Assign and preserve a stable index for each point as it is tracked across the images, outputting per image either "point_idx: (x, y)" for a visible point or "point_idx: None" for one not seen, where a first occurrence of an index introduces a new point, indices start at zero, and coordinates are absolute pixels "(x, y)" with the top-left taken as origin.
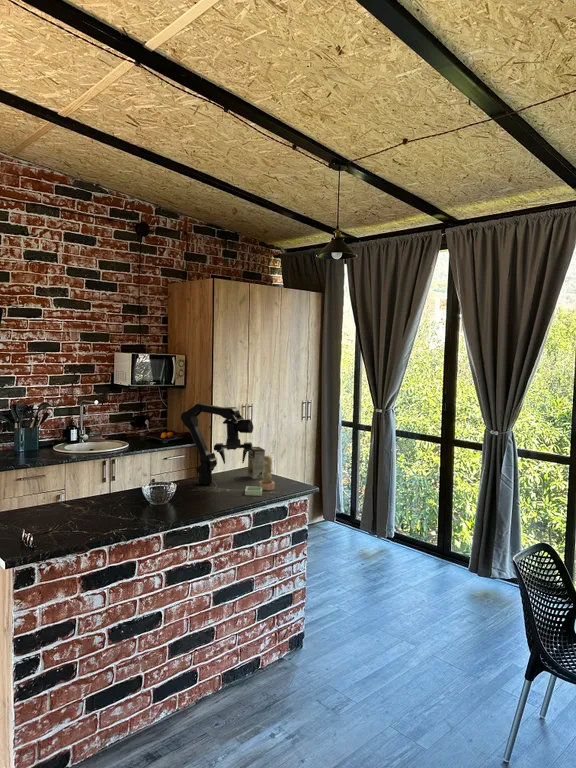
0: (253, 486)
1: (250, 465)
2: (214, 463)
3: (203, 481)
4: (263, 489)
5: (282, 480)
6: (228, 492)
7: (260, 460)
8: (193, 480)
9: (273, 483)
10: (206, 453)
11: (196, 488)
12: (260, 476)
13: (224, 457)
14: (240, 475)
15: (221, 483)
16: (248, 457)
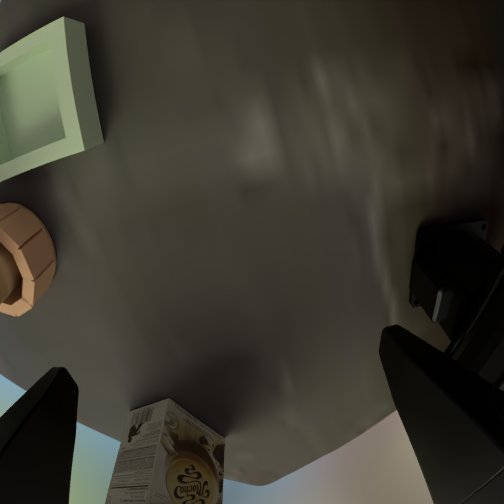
0: (36, 166)
1: (194, 477)
2: (477, 369)
3: (470, 236)
4: (12, 206)
5: None
6: (235, 63)
7: (121, 495)
8: None
9: None
10: None
11: (485, 135)
12: (137, 418)
13: (433, 433)
14: (261, 435)
15: (347, 294)
16: None
